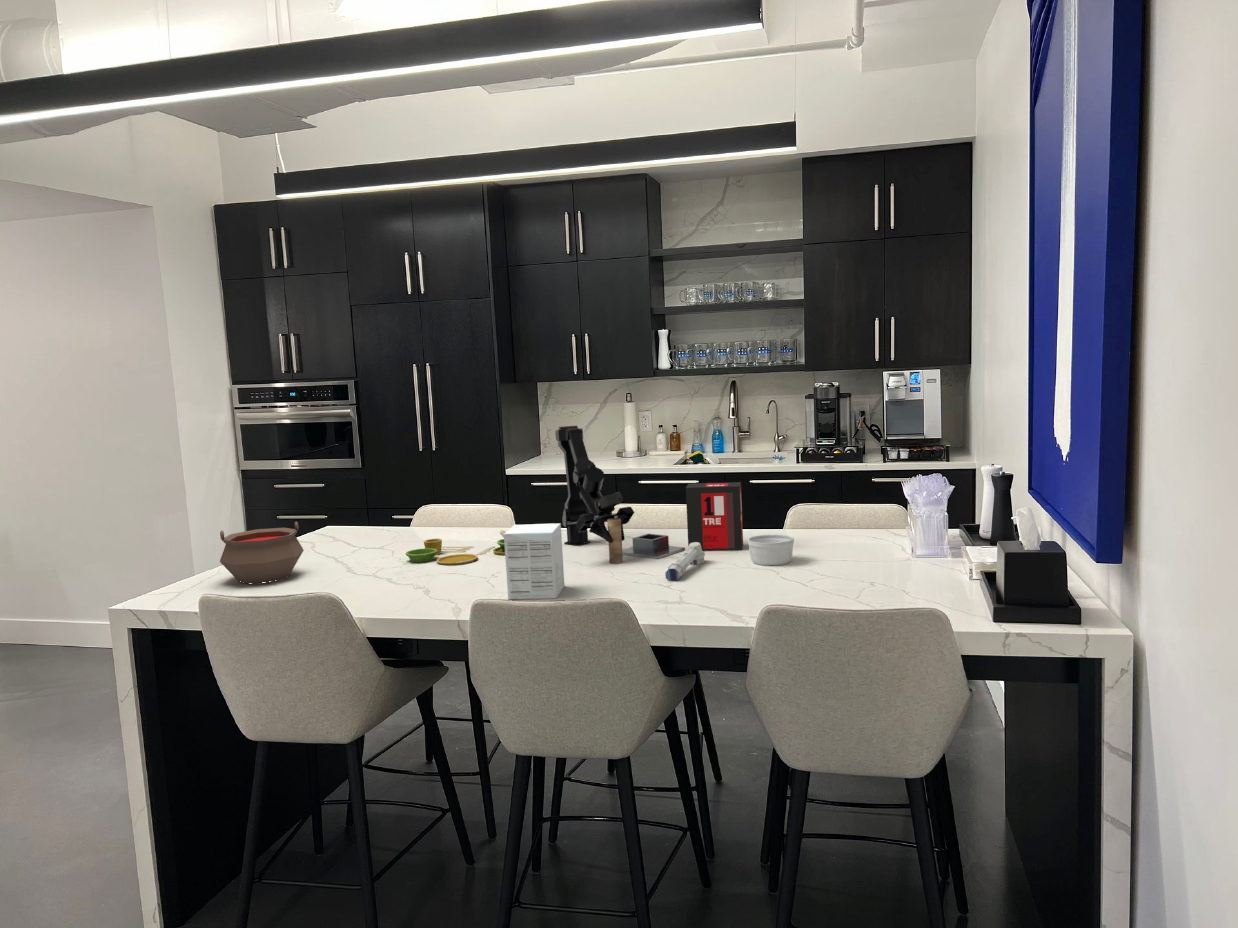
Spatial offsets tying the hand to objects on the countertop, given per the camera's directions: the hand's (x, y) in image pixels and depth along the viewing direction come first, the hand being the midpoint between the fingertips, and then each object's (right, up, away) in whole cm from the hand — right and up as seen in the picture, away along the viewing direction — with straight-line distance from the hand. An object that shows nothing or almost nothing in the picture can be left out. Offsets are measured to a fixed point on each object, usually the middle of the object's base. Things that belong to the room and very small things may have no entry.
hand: (617, 541), depth 275 cm
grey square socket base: (+10, -5, +13) cm, 18 cm away
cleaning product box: (+31, -4, +15) cm, 34 cm away
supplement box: (-22, -12, -30) cm, 38 cm away
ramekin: (+44, -6, -8) cm, 46 cm away
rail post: (-1, -7, +2) cm, 7 cm away
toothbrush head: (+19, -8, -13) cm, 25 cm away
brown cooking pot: (-107, -12, +5) cm, 108 cm away
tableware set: (-45, -7, +22) cm, 51 cm away
